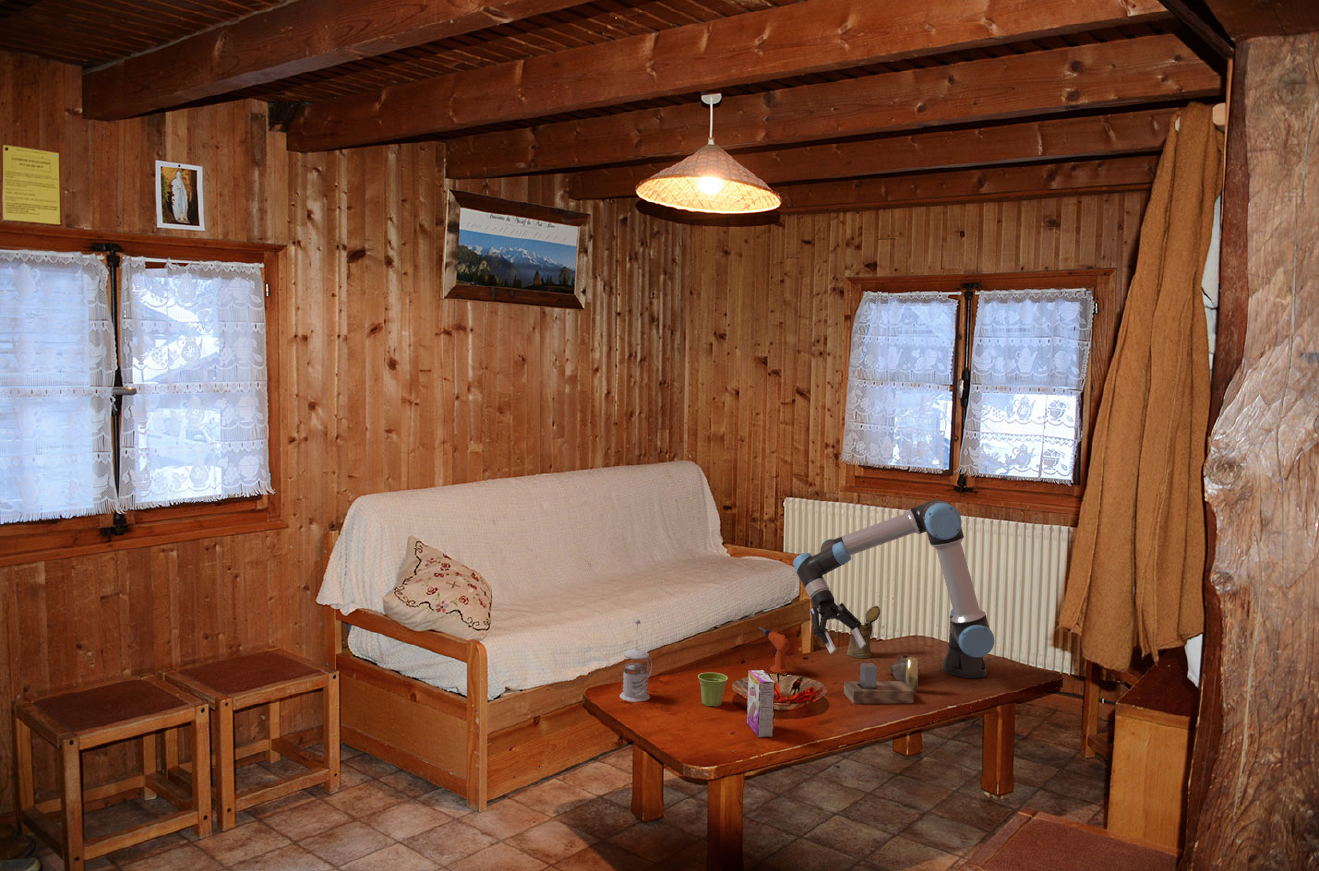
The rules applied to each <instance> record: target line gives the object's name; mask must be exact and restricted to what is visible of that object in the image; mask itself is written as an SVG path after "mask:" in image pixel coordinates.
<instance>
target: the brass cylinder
mask: <svg viewBox="0 0 1319 871" xmlns="http://www.w3.org/2000/svg"><path fill="white" fill-rule="evenodd" d="M919 666H920V659H919V658H918V657H916V656H915V657H914V656H908V657H907V664H906V679H905V684H906V685H907V686H908V687H910V688H911V689H912V690H913V691H914V694H916V693H918V681H919V673H918V669H920V668H919Z"/></svg>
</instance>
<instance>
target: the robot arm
mask: <svg viewBox="0 0 1319 871" xmlns="http://www.w3.org/2000/svg"><path fill="white" fill-rule="evenodd" d="M962 523H963V522H962V516H961V514H960V511H958V509H957V508H955V507H954V506H953V505H951V504H950V503H948V502H947V501H945V500H943V499H931V500H928V501H925V502H923V503H921V504H918V505H916V506H914V507H911V508H908V510H907V512H906V513H903V514H900V515H898V516H894V517H893V518H889V519H886V520H884V521H881V522H877V523H876V524H873V525H870V526H867V527H865V528H862V529H858V530H855V531H853V532H851V533H848V534H845V535H841V536H839V537H837V538H836V537H835V538H833V539H832V538H829V539H826V540H824V541H823V542H822V544H821V546H820V550H819V551H820V552H818V553H817V554H816V553H815V555H812V553H810V552H804V553H800V554H799V555H798V556H796V557H795V558H794V559H793V562H792V564H793V567H794V569H795V573H796V574H797V577H798V578H799V580H800V582H801V584H802V586H803V587H804V589H805V591H806V593H807V595H808V597H809V599H810V601H811V603H812V606H813V607H812V608H811V610H809V612H810V615H811V619H812V620H811V621H812V622H811V624H812V635H814V636H816V637H817V638H820V639H821V641H822V643H823V644H824V645H825V647H826V648H827V650H828V652H829V654H833V653H834V652H835V651H836V650H837V648H836V646H835V645H834V642H833V640H832V638H831V637H830V634H829V633H828V631H826V627H827V622H828V621H830V620H836V621H839V622H841V623H842V624H843V625H845V626H846V627H847V628H849V629H850V633H851V632H852V634H853V636H854V638H855V640H856V641H857V643H858V645H859V647H860V648H862V647H863V646H865V645H866V643H865V641H864V639H863V637H862V633H861V632H860V630H859V626H861V625H862V622H861V621H860V620H859V619H858V618H857V617H856V616H855V615H854V614H853V613H852V612H851V611H850V610H848V608H847V607H846V606H845V604H844V603H843V602H841V603H840V604H836V602H835V597H834V594H833V593H832V591H831V590H830V588H829V587H830V586H828V583H827V581H826V580H825V578H824V575H826V574H828V573H830V572H832V571H834V570H836V569H837V568H839V567H841V566H844V565H846V564H848V562H850V561H851V560H852V556H853V555H855V554H858V553H861V552H863V551H864V552H865V551H868V550H870V549H872V548H875V547H878V546H880V545H883V544H887V543H889V542H892V541H894V540H898V539H901V538H903V537H906V536H909V535H912V534H918V535H922V534H923V533H926V534H927V538H928V541H929V544H930V545H929V546H931V547H933V548H934V549H936V553H937V556H938V560H939V563H940V567H941V571H942V575H943V579H944V582H945V585H946V590H947V593H948V596H949V600H950V603H951V607H952V609H951V610H950V614H949V632H948V633H949V636H948V647H947V648H948V649H947V651H946V654H945V657H944V659H943V661H942V665H941V666H942V668H941V669H942V671H943V672H944V673H945V674H948V675H951V676H954V677H958V678H963V679H964V678H965V679H981V678H984V677H985V676H987V666H986V663H985V658H984V657H985V656H986V655H988V654H989V653H991V651H992V650H993V649H994V645H995V635H994V633H993V631H992V630H991V629H990V628H991V627H990V625H989V622H988V618H987V615H986V611H984V610H982V609H980V606H979V602H978V599H977V595H976V592H975V589H974V585H973V580H972V577H971V574H970V571H969V567H968V563H967V559H966V556H965V552H964V549H963V545H962V541H963V540H964V539H965V536H964V532H963V527H962ZM853 626H854V627H853ZM851 629H852V631H851Z"/></svg>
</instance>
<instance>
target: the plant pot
mask: <svg viewBox="0 0 1319 871" xmlns="http://www.w3.org/2000/svg"><path fill="white" fill-rule="evenodd" d="M728 677H729V676H727V675H725V674H723V673H719V672H710V671H709V672H701V673H699V674H697V678H698V681H699V683H700V684H699V685H700V696H701V703H702V705H704V706H706V707H720V706H721V705H722V702H723V697H724V691H725V687H726V686H725V685H726V684H727V681H728V679H729V678H728Z"/></svg>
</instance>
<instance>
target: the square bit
mask: <svg viewBox="0 0 1319 871" xmlns="http://www.w3.org/2000/svg"><path fill="white" fill-rule="evenodd" d="M859 672H860V673H859V681H860V688H861V689H876V681H878V680H877V678H878V666H877V665H876V664H874V663H873V662H867V663H866V662H865V663H864V662H861V663H860V670H859Z"/></svg>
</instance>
